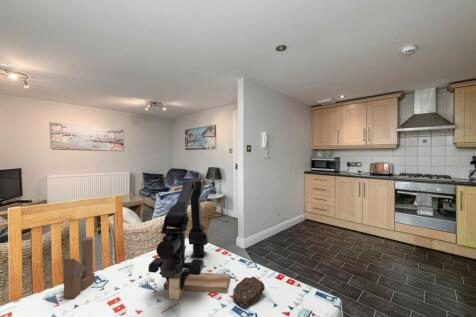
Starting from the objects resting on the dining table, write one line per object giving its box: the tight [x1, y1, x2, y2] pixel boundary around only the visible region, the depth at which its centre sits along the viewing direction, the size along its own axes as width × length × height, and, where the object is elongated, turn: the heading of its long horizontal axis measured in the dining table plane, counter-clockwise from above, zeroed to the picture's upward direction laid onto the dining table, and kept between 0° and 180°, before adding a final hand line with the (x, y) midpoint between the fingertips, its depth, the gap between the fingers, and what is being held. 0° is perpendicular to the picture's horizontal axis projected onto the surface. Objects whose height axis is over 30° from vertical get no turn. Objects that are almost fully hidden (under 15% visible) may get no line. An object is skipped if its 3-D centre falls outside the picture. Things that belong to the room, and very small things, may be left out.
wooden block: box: [63, 236, 96, 300], centre depth 78 cm, size 4×11×18 cm, turn 179°
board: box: [163, 272, 231, 294], centre depth 81 cm, size 9×24×2 cm, turn 84°
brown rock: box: [232, 276, 266, 308], centre depth 74 cm, size 12×10×5 cm
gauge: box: [168, 270, 184, 300], centre depth 79 cm, size 14×4×7 cm, turn 174°
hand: (176, 289), depth 75 cm, fingers closed on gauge, 3 cm apart
